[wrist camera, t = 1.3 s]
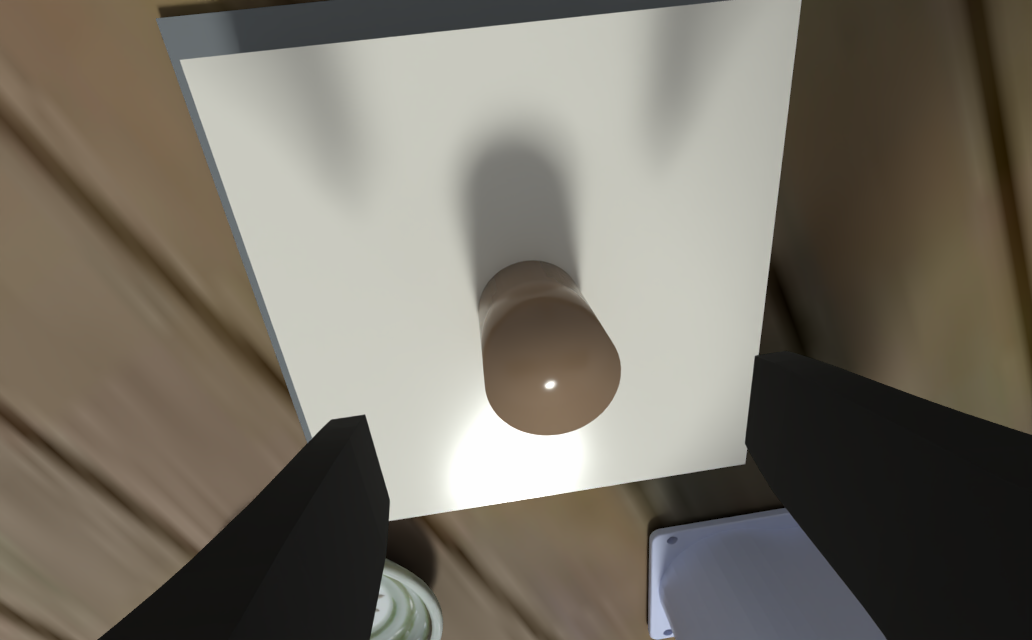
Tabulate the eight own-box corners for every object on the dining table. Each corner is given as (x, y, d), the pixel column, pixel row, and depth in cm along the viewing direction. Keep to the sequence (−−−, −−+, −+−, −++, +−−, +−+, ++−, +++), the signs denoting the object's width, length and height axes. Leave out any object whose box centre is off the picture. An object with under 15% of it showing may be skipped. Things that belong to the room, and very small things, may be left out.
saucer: (235, 649, 25) (213, 703, 22) (233, 504, 21) (207, 553, 19) (428, 653, 26) (426, 704, 24) (458, 521, 23) (459, 567, 20)
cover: (726, 15, 15) (950, -52, 8) (700, 406, 21) (815, 554, 14) (244, 68, 14) (47, 42, 7) (362, 457, 20) (314, 640, 13)
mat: (787, -45, 14) (793, -48, 14) (737, 422, 22) (740, 426, 21) (161, 20, 14) (155, 18, 13) (326, 485, 21) (324, 490, 20)
